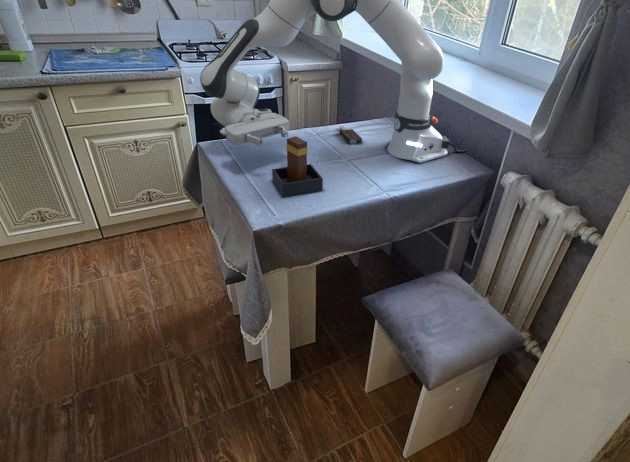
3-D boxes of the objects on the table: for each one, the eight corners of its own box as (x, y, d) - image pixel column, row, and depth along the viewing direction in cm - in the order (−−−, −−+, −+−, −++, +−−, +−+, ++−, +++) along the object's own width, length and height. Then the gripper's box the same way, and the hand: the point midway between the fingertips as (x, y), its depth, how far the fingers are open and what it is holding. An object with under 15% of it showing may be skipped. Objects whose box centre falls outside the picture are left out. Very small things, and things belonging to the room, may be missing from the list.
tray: (310, 175, 135) (310, 163, 132) (322, 190, 128) (322, 178, 126) (272, 181, 130) (272, 168, 127) (282, 197, 123) (282, 184, 120)
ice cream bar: (334, 129, 167) (350, 145, 157) (335, 125, 166) (350, 140, 156) (347, 128, 170) (363, 143, 159) (347, 124, 169) (363, 139, 158)
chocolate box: (295, 179, 131) (295, 135, 123) (306, 185, 128) (307, 142, 120) (287, 182, 129) (286, 138, 121) (297, 189, 126) (298, 144, 118)
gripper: (215, 120, 127) (242, 136, 120) (272, 107, 140) (300, 121, 133) (217, 140, 130) (244, 156, 123) (273, 126, 143) (300, 140, 136)
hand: (273, 138), depth 128 cm, fingers open, 8 cm apart
